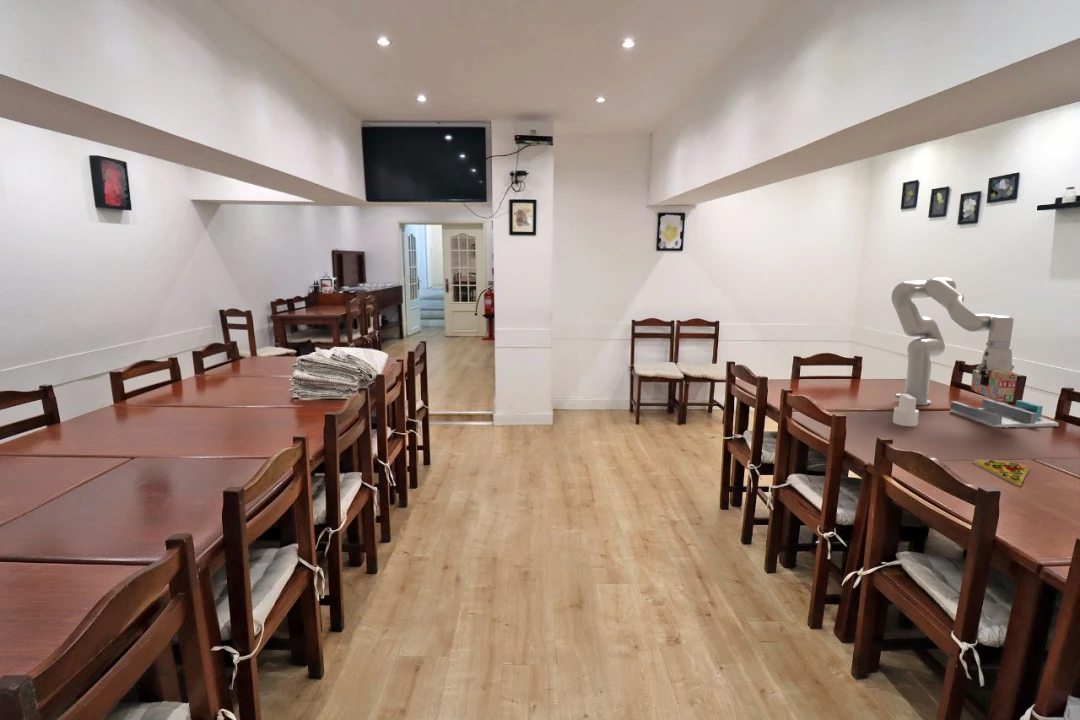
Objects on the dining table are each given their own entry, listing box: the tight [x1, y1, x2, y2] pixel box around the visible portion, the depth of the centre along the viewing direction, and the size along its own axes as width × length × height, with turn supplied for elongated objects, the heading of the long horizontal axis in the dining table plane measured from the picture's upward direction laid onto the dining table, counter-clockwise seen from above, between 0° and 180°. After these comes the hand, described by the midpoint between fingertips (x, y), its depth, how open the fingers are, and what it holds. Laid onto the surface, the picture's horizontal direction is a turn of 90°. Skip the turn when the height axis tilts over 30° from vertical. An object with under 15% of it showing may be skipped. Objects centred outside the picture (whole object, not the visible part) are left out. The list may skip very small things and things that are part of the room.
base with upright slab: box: [892, 393, 920, 427], centre depth 237 cm, size 9×9×12 cm
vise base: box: [949, 400, 1060, 429], centre depth 243 cm, size 28×24×5 cm
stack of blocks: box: [970, 369, 1018, 403], centre depth 240 cm, size 21×6×12 cm, turn 167°
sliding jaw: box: [981, 398, 1043, 423], centre depth 243 cm, size 12×24×5 cm, turn 4°
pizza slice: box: [972, 458, 1031, 487], centre depth 182 cm, size 16×21×3 cm
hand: (992, 384), depth 240 cm, fingers closed on stack of blocks, 7 cm apart
